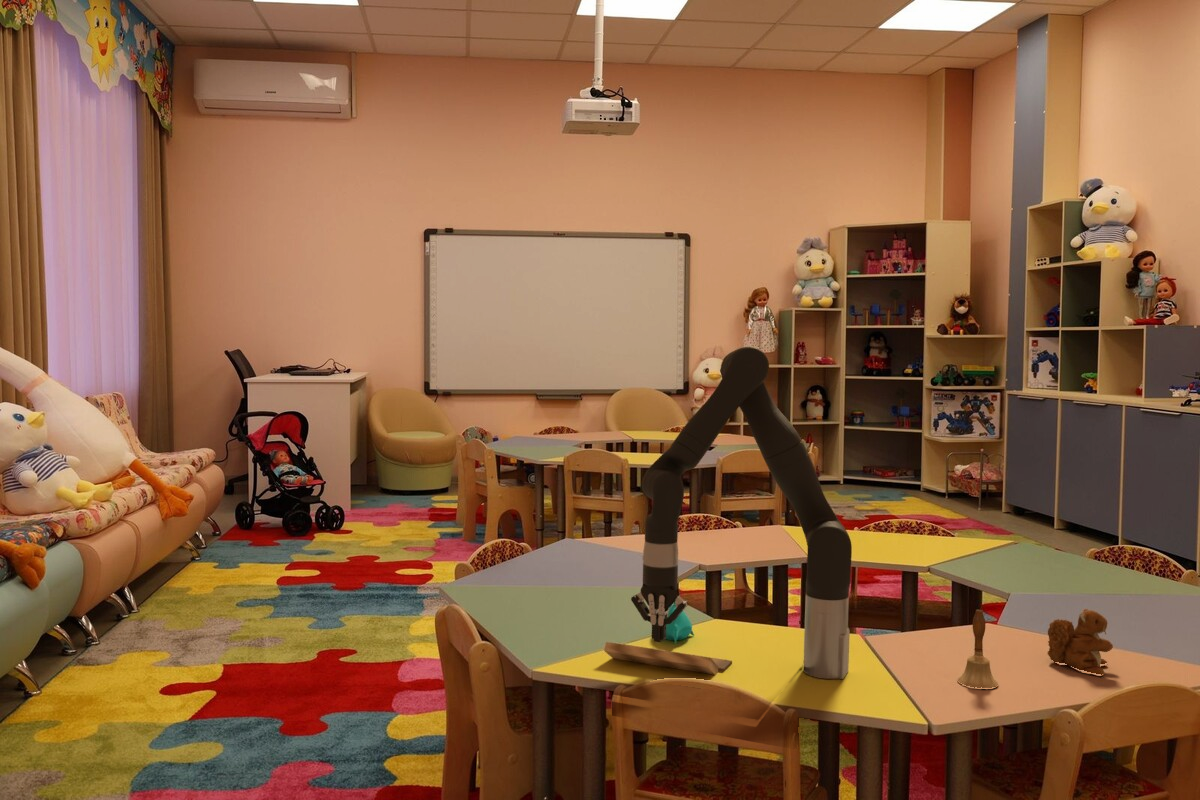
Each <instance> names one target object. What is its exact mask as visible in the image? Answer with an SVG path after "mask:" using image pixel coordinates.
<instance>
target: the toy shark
mask: <svg viewBox="0 0 1200 800" xmlns="http://www.w3.org/2000/svg"><path fill="white" fill-rule="evenodd" d="M675 604H676V601H675V602H674V603H673V604H672V606H671V607H670V608H669V613H668V617H669V616H670V615H671V614H672V613H673V611H674V610H675V609H676V607H675ZM690 635H692V636H693V637H695V634H694V631H693V625H692V623H691V621H690V618H689V617H688V615H687V614H686V612H685V611H684V610H683V611H682V613H681V614H680V615H679V616H678V617H677V618H676V620H675V621H673V622H672V623H671V624H667V625H666V638H665V639H664V640H668V641H669V640H670V641H674V643H675V644H677V641H682V640H685V639H686V638H688V637H689V636H690Z"/></svg>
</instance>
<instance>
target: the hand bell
mask: <svg viewBox="0 0 1200 800" xmlns="http://www.w3.org/2000/svg"><path fill="white" fill-rule="evenodd" d="M983 611H984V610H982V609H975V614H974V616H973V618H972V632H973V636H974V648H973V650H974V654H973V655H971V656H968V658H967V661H966V664H965V665H966V666H965V669H964V671H963V673H962V674H961V675H960V676H958V678H957V679H958V681H959V682H960V683H962V684H964V685H966V686H970V687H974V688H975V687H977V688H981V687H982V688H992V687H996V686H997V685H998V686H999V682H998V681H997V680H996V679H995V678H994V676H993V674H992V670H991V663H990V660H989V658H988V657H985V656H984V648H983V647H984V646H983V641H984V640H983V639H984V636H985V632H986V618H985V616H984V612H983Z"/></svg>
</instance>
